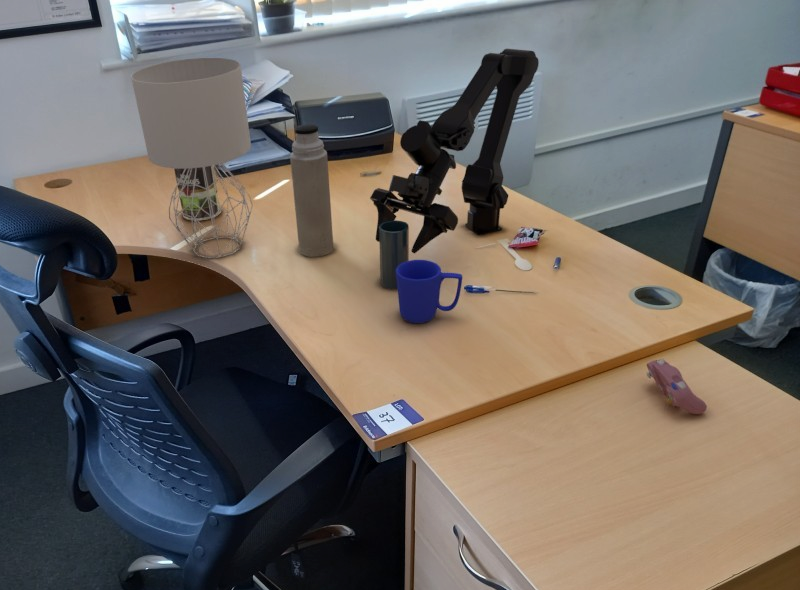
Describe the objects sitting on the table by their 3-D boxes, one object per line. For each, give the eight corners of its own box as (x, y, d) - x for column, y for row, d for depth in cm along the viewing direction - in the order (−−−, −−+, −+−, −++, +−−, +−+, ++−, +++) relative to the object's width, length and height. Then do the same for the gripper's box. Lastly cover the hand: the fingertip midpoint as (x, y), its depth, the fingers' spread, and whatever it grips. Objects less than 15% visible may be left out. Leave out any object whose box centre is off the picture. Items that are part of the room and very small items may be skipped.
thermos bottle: (308, 240, 162) (297, 120, 147) (338, 244, 159) (331, 122, 143) (293, 254, 157) (280, 131, 141) (324, 258, 154) (315, 133, 138)
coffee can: (209, 222, 175) (200, 169, 167) (175, 219, 179) (164, 166, 171) (228, 207, 183) (220, 155, 175) (195, 204, 187) (186, 153, 179)
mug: (459, 329, 126) (462, 281, 120) (393, 326, 128) (393, 279, 122) (460, 307, 132) (463, 260, 127) (398, 304, 135) (398, 258, 129)
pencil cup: (401, 273, 145) (401, 218, 138) (413, 285, 141) (413, 228, 133) (376, 279, 144) (374, 223, 137) (387, 291, 139) (386, 234, 132)
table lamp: (187, 278, 150) (148, 89, 128) (158, 243, 167) (119, 70, 144) (279, 252, 158) (257, 68, 135) (242, 220, 175) (218, 53, 152)
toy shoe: (649, 387, 110) (637, 358, 107) (676, 374, 109) (665, 344, 106) (680, 426, 102) (669, 396, 99) (710, 413, 101) (700, 381, 98)
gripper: (374, 149, 137) (340, 218, 137) (452, 166, 126) (414, 242, 126) (399, 175, 146) (367, 241, 146) (473, 194, 135) (438, 264, 135)
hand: (394, 246), depth 138 cm, fingers open, 9 cm apart
